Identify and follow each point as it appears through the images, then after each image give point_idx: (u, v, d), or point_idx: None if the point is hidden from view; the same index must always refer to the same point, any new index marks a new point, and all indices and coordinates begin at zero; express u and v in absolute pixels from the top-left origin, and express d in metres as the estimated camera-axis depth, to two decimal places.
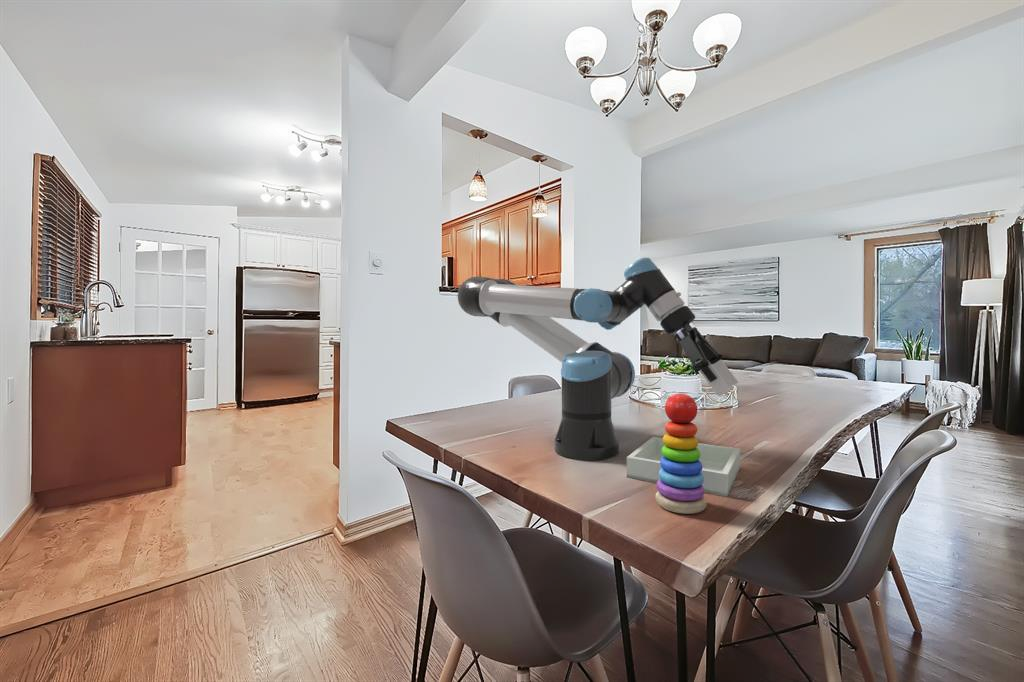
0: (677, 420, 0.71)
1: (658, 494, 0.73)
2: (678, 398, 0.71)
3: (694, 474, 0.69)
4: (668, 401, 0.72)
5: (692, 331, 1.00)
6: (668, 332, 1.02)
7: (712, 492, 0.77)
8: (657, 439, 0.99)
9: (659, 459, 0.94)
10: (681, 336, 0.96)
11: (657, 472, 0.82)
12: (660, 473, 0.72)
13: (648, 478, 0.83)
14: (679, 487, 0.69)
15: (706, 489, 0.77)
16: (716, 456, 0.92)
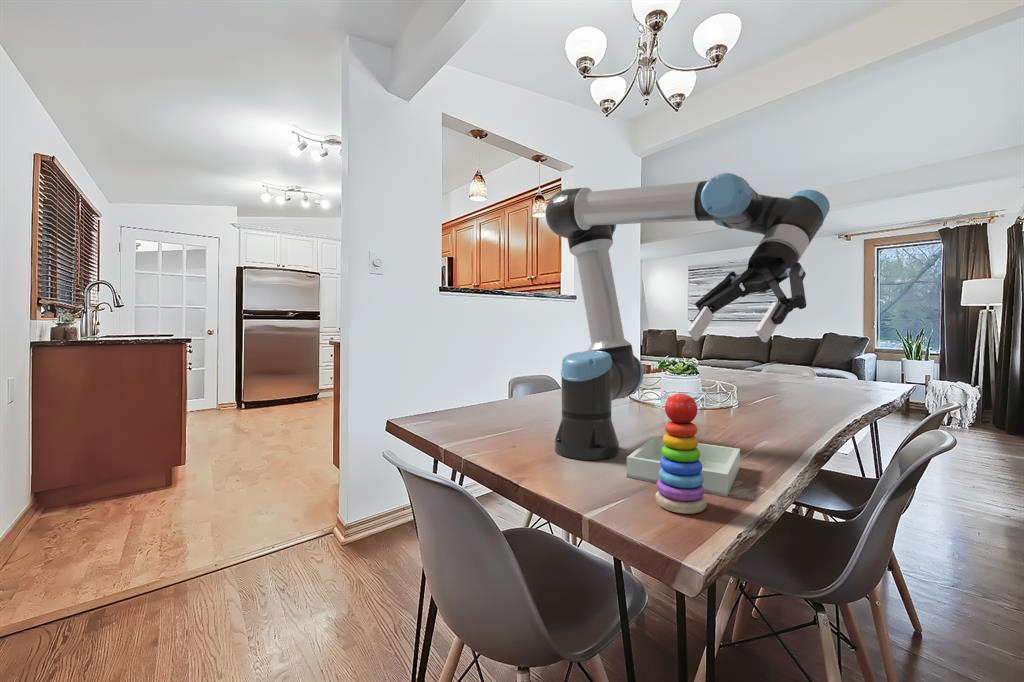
0: (677, 420, 0.71)
1: (658, 494, 0.73)
2: (678, 398, 0.71)
3: (694, 474, 0.69)
4: (668, 401, 0.72)
5: None
6: (774, 253, 0.78)
7: (712, 492, 0.77)
8: (657, 439, 0.99)
9: (659, 459, 0.94)
10: (800, 272, 0.74)
11: (657, 472, 0.82)
12: (660, 473, 0.72)
13: (648, 478, 0.83)
14: (679, 487, 0.69)
15: (706, 489, 0.77)
16: (716, 456, 0.92)
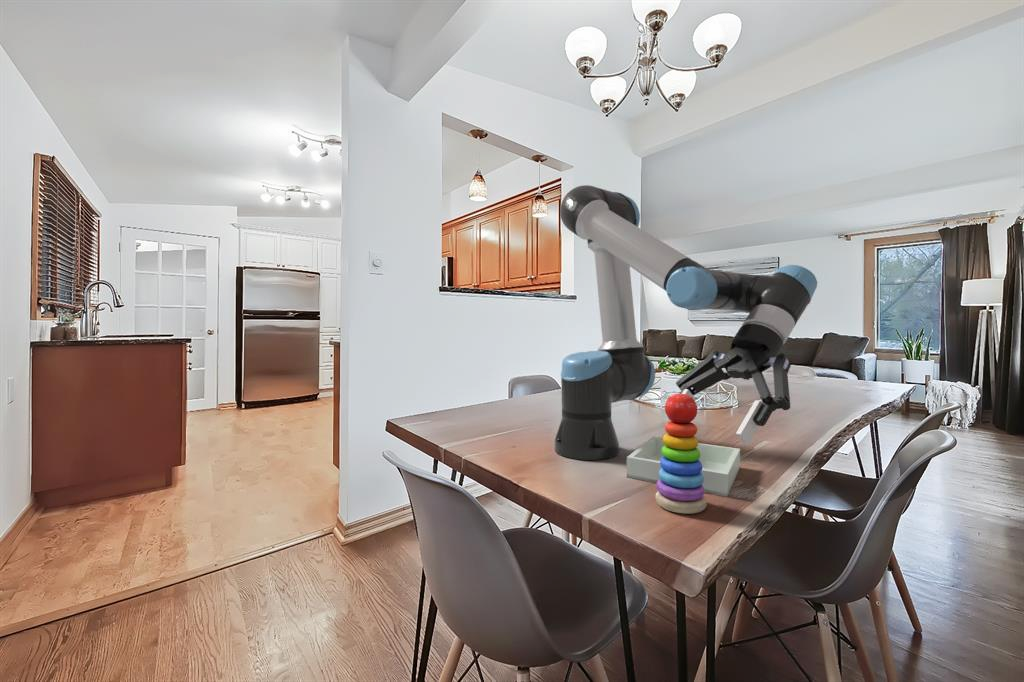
0: (677, 420, 0.71)
1: (658, 494, 0.73)
2: (678, 398, 0.71)
3: (694, 474, 0.69)
4: (668, 401, 0.72)
5: None
6: (758, 339, 0.74)
7: (712, 492, 0.77)
8: (657, 439, 0.99)
9: (659, 459, 0.94)
10: (785, 365, 0.70)
11: (657, 472, 0.82)
12: (660, 473, 0.72)
13: (648, 478, 0.83)
14: (679, 487, 0.69)
15: (706, 489, 0.77)
16: (716, 456, 0.92)
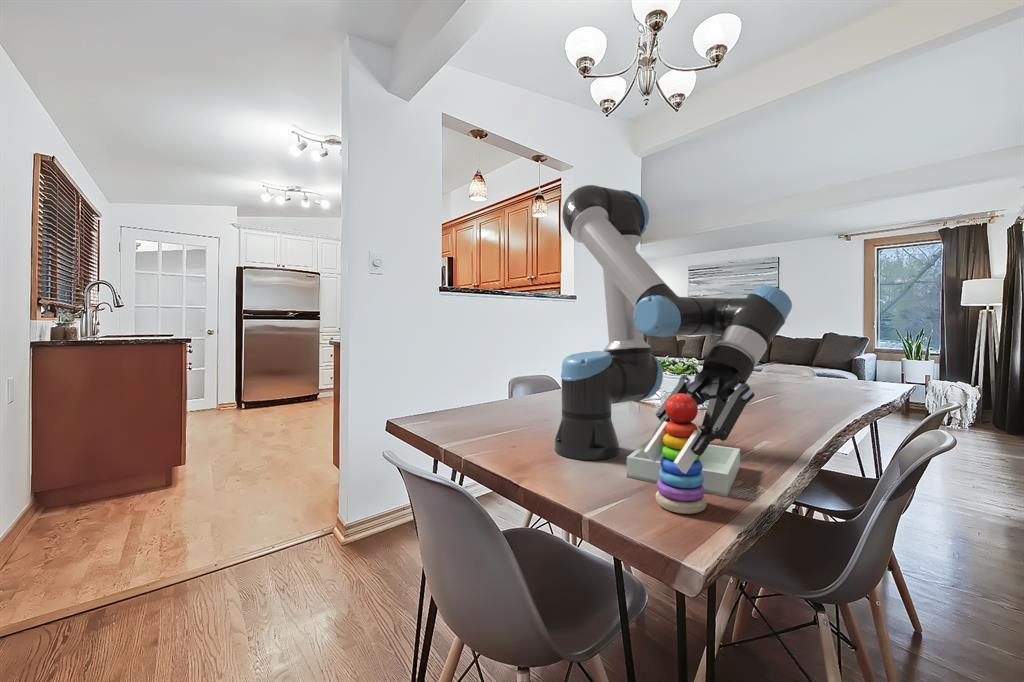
0: (677, 420, 0.70)
1: (658, 494, 0.73)
2: (678, 398, 0.71)
3: (694, 474, 0.69)
4: (668, 401, 0.72)
5: None
6: (728, 362, 0.73)
7: (712, 492, 0.77)
8: None
9: (659, 459, 0.94)
10: (745, 396, 0.69)
11: (657, 472, 0.82)
12: (661, 473, 0.72)
13: (648, 478, 0.83)
14: (679, 487, 0.69)
15: (706, 489, 0.77)
16: (716, 456, 0.92)
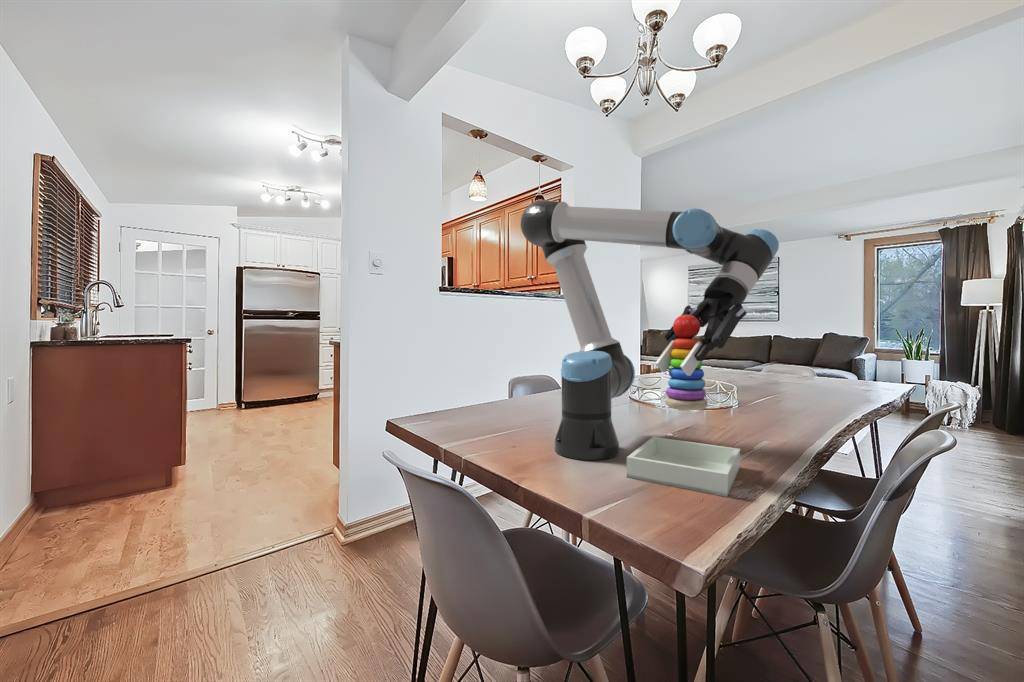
0: (683, 335, 0.85)
1: (667, 398, 0.88)
2: (684, 317, 0.86)
3: (697, 378, 0.84)
4: (676, 320, 0.87)
5: None
6: (725, 288, 0.88)
7: (712, 492, 0.77)
8: (657, 439, 0.99)
9: (659, 459, 0.94)
10: (738, 313, 0.84)
11: (657, 472, 0.82)
12: (669, 380, 0.87)
13: (648, 478, 0.83)
14: (685, 389, 0.84)
15: (706, 489, 0.77)
16: (716, 456, 0.92)
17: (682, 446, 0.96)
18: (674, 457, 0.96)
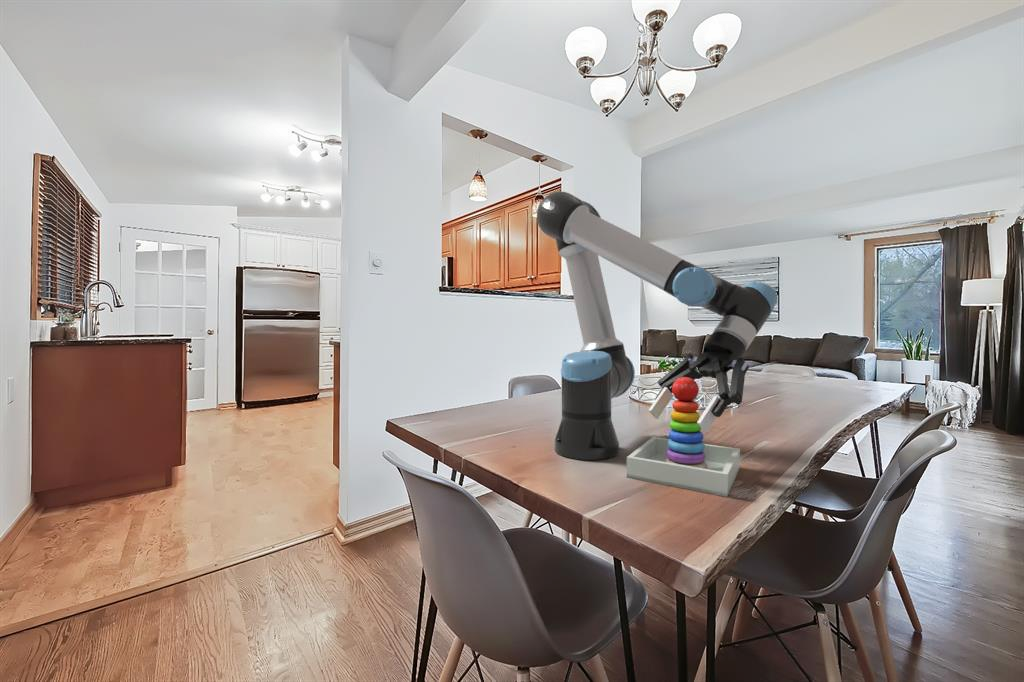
0: (682, 398, 0.86)
1: (667, 460, 0.88)
2: (682, 380, 0.87)
3: (697, 442, 0.85)
4: (674, 383, 0.88)
5: None
6: (724, 344, 0.88)
7: (712, 492, 0.77)
8: (657, 439, 0.99)
9: (659, 459, 0.94)
10: (743, 367, 0.84)
11: (657, 472, 0.82)
12: (669, 443, 0.88)
13: (648, 478, 0.83)
14: (684, 453, 0.85)
15: (706, 489, 0.77)
16: (716, 456, 0.92)
17: None
18: None
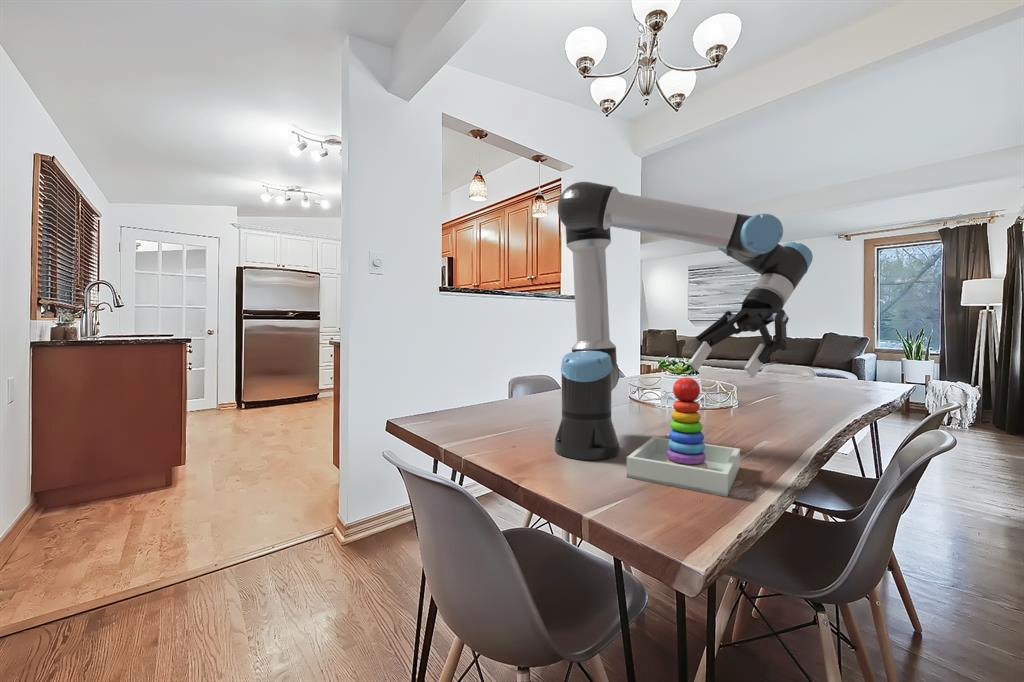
0: (683, 399, 0.86)
1: (667, 460, 0.88)
2: (684, 380, 0.86)
3: (697, 442, 0.85)
4: (676, 383, 0.87)
5: None
6: (763, 299, 0.93)
7: (712, 492, 0.77)
8: (657, 439, 0.99)
9: (659, 459, 0.94)
10: (784, 318, 0.89)
11: (657, 472, 0.82)
12: (669, 443, 0.88)
13: (648, 478, 0.83)
14: (685, 453, 0.85)
15: (706, 489, 0.77)
16: (716, 456, 0.92)
17: None
18: None
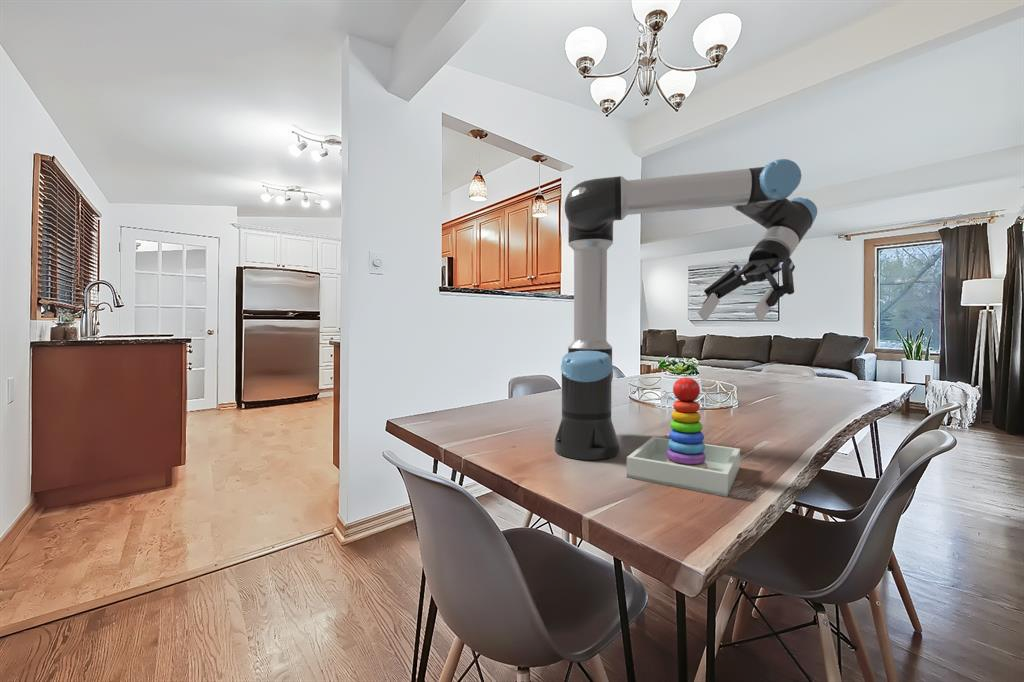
0: (683, 399, 0.86)
1: (667, 460, 0.88)
2: (684, 380, 0.86)
3: (697, 442, 0.85)
4: (676, 383, 0.87)
5: None
6: (770, 250, 0.96)
7: (712, 492, 0.77)
8: (657, 439, 0.99)
9: (659, 459, 0.94)
10: (790, 265, 0.92)
11: (657, 472, 0.82)
12: (669, 443, 0.88)
13: (648, 478, 0.83)
14: (685, 453, 0.85)
15: (706, 489, 0.77)
16: (716, 456, 0.92)
17: None
18: None
